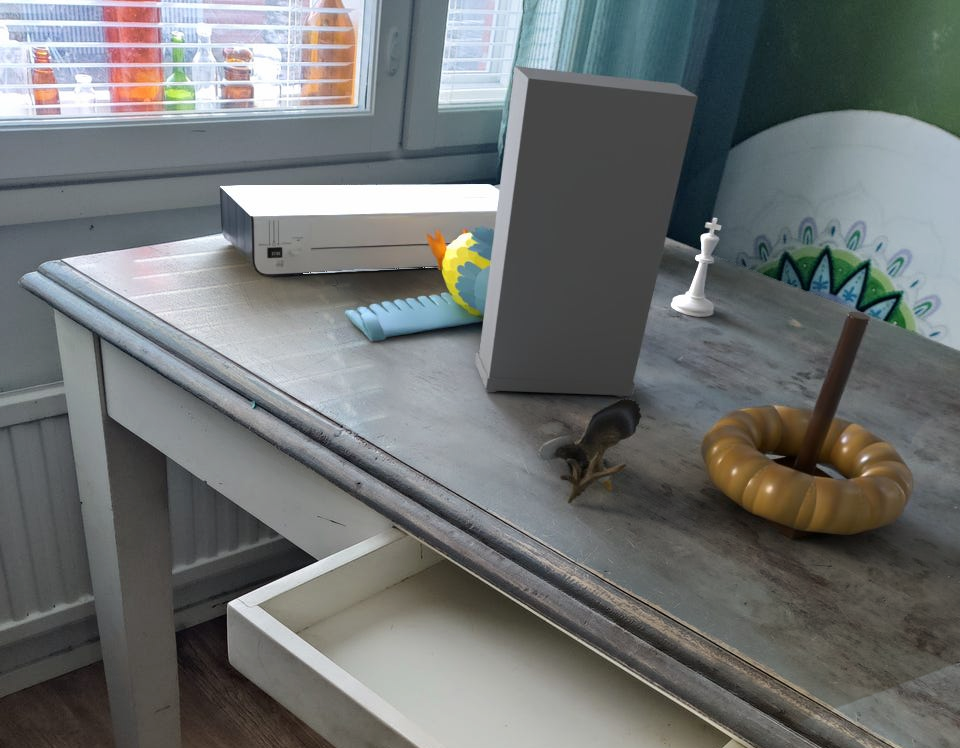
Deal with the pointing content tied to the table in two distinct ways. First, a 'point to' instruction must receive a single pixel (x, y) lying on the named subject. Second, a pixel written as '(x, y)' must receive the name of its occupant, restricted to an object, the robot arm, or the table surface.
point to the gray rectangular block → (580, 229)
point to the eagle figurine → (594, 446)
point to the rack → (826, 406)
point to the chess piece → (699, 279)
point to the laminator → (349, 224)
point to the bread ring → (796, 495)
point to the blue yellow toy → (465, 281)
